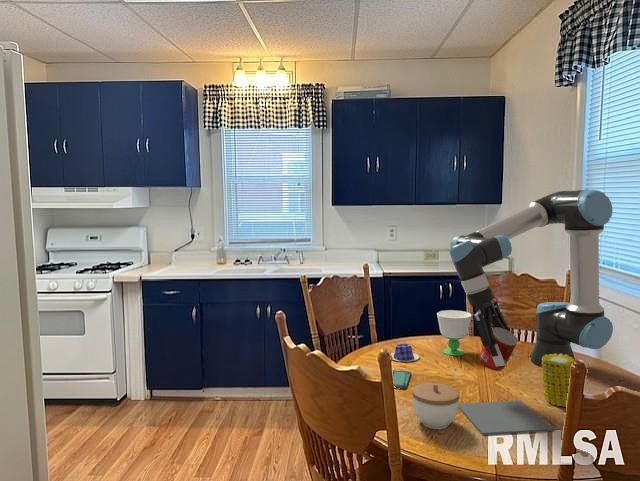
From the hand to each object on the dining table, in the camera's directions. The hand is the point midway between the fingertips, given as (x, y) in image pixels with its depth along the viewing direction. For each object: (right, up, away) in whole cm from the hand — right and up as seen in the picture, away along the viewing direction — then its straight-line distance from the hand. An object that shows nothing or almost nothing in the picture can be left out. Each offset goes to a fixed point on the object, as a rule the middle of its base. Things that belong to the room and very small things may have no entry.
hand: (505, 360), depth 143 cm
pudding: (-24, -10, +42) cm, 50 cm away
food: (+16, -13, -1) cm, 21 cm away
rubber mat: (-5, -14, -10) cm, 18 cm away
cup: (-2, -9, +48) cm, 49 cm away
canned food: (-3, -2, +3) cm, 5 cm away
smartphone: (-30, -12, +18) cm, 37 cm away
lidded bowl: (-25, -14, -13) cm, 32 cm away
